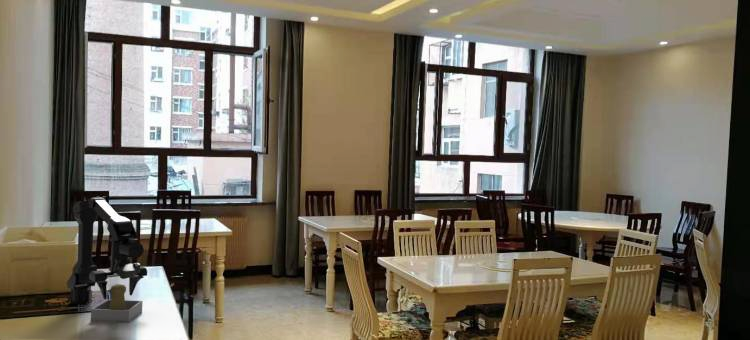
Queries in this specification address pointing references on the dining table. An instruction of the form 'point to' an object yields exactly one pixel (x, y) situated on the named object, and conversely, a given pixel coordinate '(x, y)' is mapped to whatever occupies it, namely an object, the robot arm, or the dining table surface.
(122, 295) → the cork
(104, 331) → the dining table surface
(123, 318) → the bin
